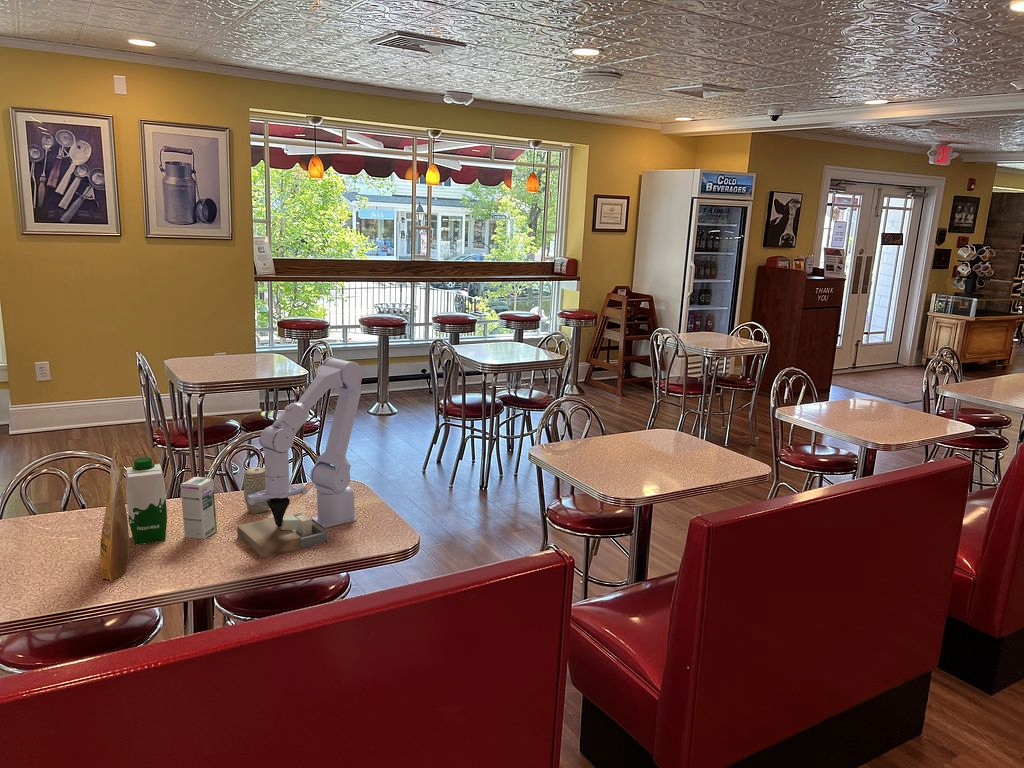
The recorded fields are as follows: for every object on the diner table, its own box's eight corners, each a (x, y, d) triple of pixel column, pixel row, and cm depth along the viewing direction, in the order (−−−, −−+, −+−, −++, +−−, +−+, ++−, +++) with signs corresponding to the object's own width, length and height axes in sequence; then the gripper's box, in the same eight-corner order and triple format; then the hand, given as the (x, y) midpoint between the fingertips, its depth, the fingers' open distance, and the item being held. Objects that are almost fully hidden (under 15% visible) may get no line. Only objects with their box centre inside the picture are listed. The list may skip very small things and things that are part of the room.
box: (300, 521, 207) (300, 513, 207) (327, 541, 195) (327, 532, 195) (275, 527, 203) (275, 518, 203) (301, 548, 191) (300, 539, 191)
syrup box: (204, 539, 195) (201, 485, 191) (183, 537, 196) (179, 483, 193) (217, 531, 200) (214, 478, 197) (196, 528, 201) (193, 475, 198)
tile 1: (291, 524, 199) (292, 515, 199) (297, 529, 196) (299, 520, 196) (276, 524, 196) (277, 515, 196) (282, 529, 193) (284, 520, 193)
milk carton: (167, 528, 201) (161, 455, 196) (169, 541, 193) (164, 465, 189) (129, 534, 197) (123, 459, 192) (130, 547, 189) (124, 469, 185)
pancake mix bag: (136, 548, 189) (127, 438, 183) (132, 582, 172) (122, 462, 166) (105, 552, 186) (95, 440, 180) (98, 587, 169) (87, 465, 163)
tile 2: (296, 530, 200) (305, 528, 202) (302, 535, 197) (311, 533, 199) (295, 516, 200) (304, 514, 201) (302, 521, 197) (311, 518, 198)
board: (275, 527, 203) (275, 517, 202) (301, 548, 191) (300, 537, 190) (237, 536, 197) (237, 525, 196) (261, 558, 185) (261, 547, 184)
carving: (241, 510, 215) (239, 468, 212) (268, 504, 219) (266, 464, 216) (249, 517, 210) (247, 475, 207) (276, 511, 214) (274, 470, 212)
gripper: (254, 483, 184) (256, 537, 187) (311, 473, 193) (312, 524, 196) (243, 475, 190) (245, 527, 193) (299, 465, 199) (300, 515, 202)
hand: (278, 525), depth 195 cm, fingers closed, pressing on tile 1
